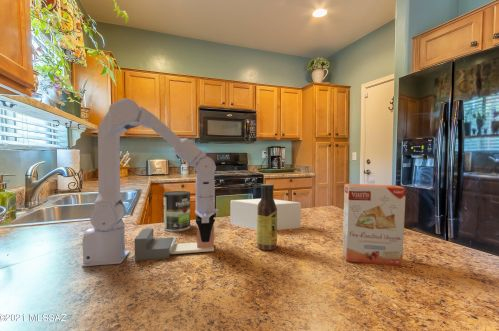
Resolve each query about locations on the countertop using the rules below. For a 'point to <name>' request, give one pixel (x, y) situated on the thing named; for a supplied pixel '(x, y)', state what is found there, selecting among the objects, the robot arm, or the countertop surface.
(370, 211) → the cracker box
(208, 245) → the pink and white block
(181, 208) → the coffee can
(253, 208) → the white rectangular box
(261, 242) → the sauce bottle
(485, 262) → the countertop surface
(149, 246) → the dispenser
